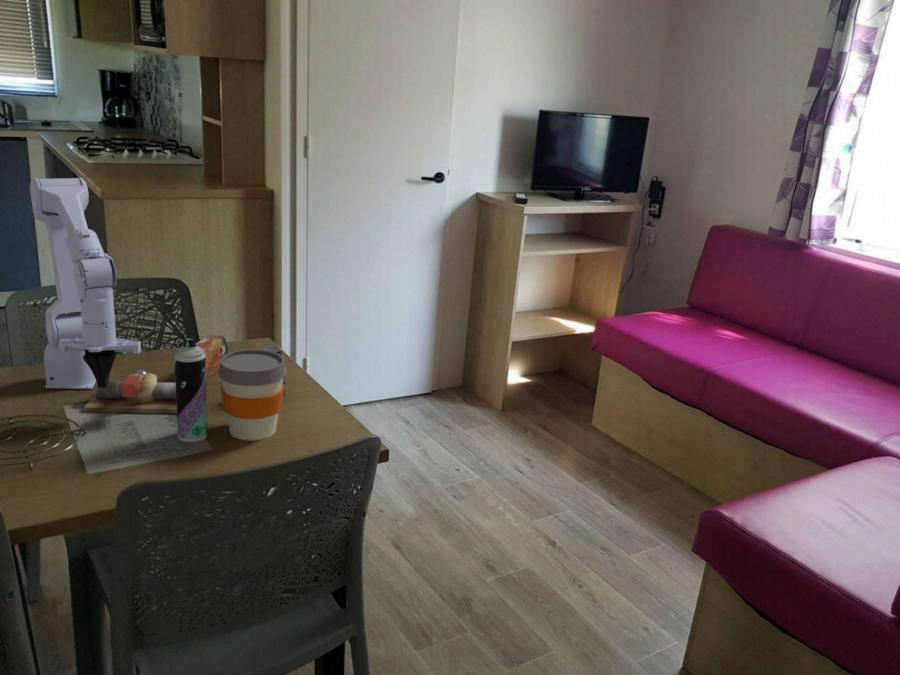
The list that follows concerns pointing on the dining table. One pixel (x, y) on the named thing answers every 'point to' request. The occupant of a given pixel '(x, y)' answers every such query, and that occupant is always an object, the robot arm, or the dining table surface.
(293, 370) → the dining table surface
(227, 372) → the reusable coffee cup
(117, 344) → the robot arm
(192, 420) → the spray can
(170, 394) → the valve stand
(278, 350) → the supplement bottle
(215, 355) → the tin
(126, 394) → the valve lever
